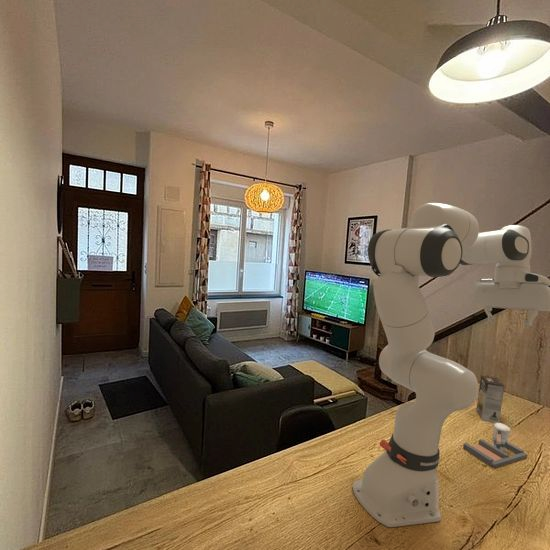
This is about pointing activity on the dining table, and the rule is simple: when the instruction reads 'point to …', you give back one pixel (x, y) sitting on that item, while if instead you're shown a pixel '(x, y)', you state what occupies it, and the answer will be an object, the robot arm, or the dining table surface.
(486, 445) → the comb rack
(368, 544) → the dining table surface
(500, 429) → the milkshake
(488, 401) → the coffee box
